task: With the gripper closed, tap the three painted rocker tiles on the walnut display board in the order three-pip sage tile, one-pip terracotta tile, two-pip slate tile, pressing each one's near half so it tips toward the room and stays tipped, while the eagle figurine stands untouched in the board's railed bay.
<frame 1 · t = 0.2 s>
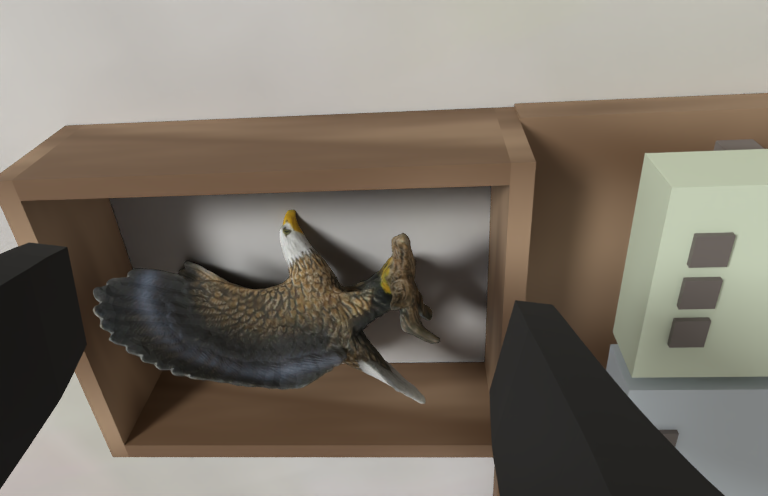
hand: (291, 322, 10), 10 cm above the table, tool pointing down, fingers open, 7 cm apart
board: (661, 354, 23), on the table
tile 2: (701, 435, 20), point 4 cm above the table, hinge at 0.0°
tile 3: (754, 269, 16), point 4 cm above the table, hinge at 0.0°
eagle figurine: (301, 260, 22), on the table
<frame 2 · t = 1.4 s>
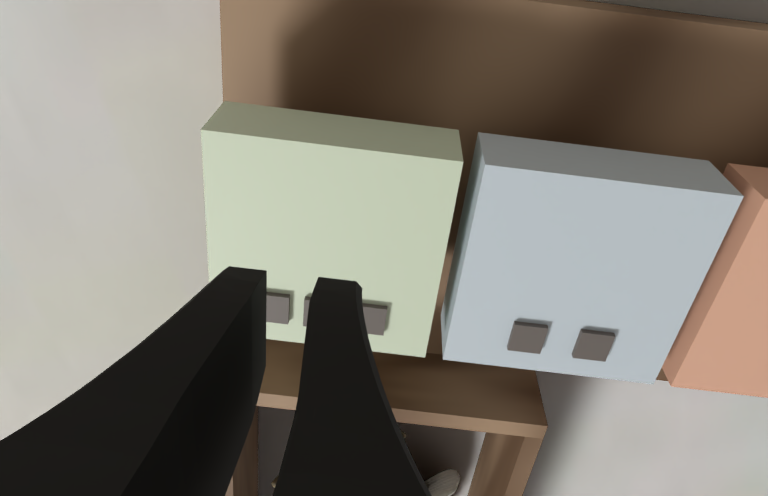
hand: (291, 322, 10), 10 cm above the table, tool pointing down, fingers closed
board: (545, 199, 20), on the table
tile 2: (570, 266, 16), point 4 cm above the table, hinge at 0.0°
tile 3: (329, 237, 16), point 4 cm above the table, hinge at 0.0°
eagle figurine: (375, 459, 27), on the table
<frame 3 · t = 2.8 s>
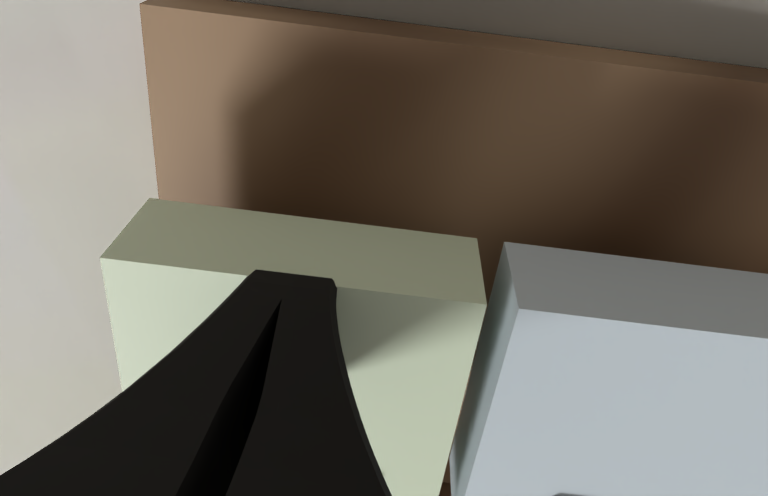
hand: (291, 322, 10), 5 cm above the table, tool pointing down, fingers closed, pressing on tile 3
board: (584, 299, 15), on the table
tile 2: (630, 419, 12), point 4 cm above the table, hinge at 0.0°
tile 3: (297, 380, 12), point 4 cm above the table, hinge at 0.0°, touching gripper
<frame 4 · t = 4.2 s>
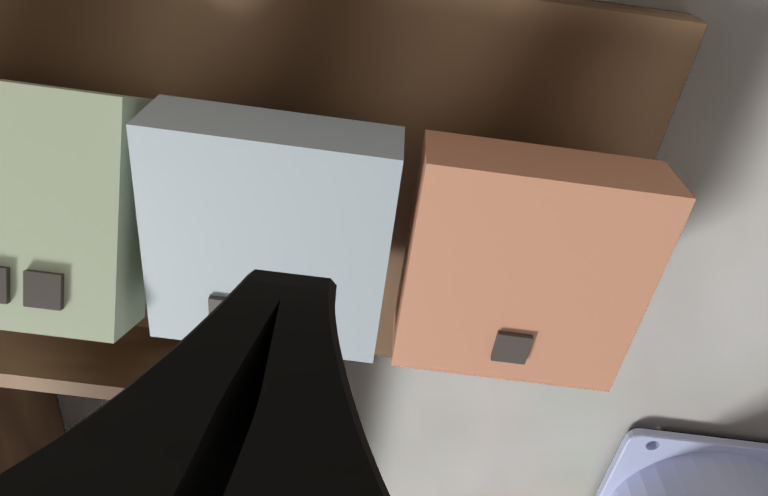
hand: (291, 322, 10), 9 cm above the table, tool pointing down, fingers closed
board: (296, 172, 19), on the table
tile 2: (271, 237, 15), point 4 cm above the table, hinge at 0.0°
tile 3: (13, 204, 15), point 4 cm above the table, hinge at 20.1°
tile 1: (522, 269, 16), point 4 cm above the table, hinge at 0.0°
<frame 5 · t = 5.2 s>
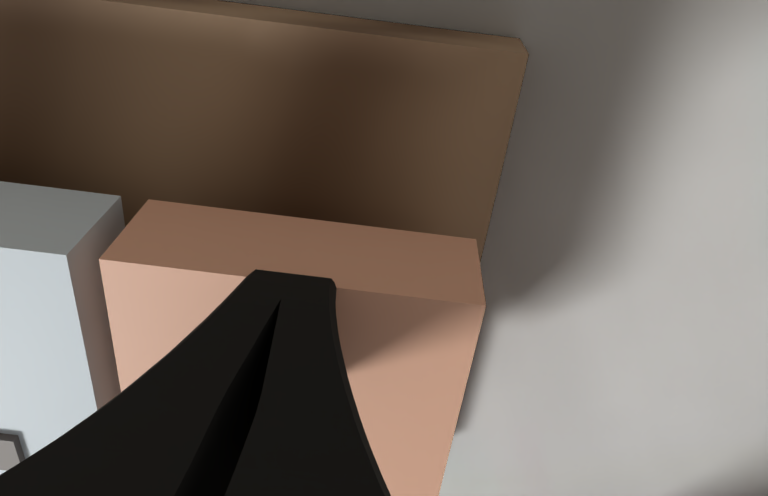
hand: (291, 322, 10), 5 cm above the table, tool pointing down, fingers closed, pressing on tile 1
board: (61, 237, 15), on the table
tile 1: (297, 381, 12), point 4 cm above the table, hinge at 0.0°, touching gripper
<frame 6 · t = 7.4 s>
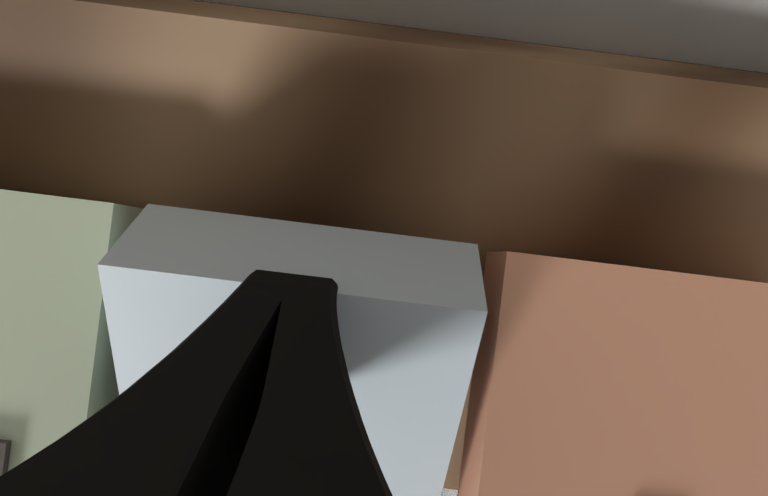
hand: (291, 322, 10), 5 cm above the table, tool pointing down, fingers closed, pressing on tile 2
board: (324, 273, 15), on the table
tile 2: (297, 386, 12), point 4 cm above the table, hinge at 0.1°, touching gripper
tile 1: (632, 424, 12), point 4 cm above the table, hinge at 32.7°, touching board
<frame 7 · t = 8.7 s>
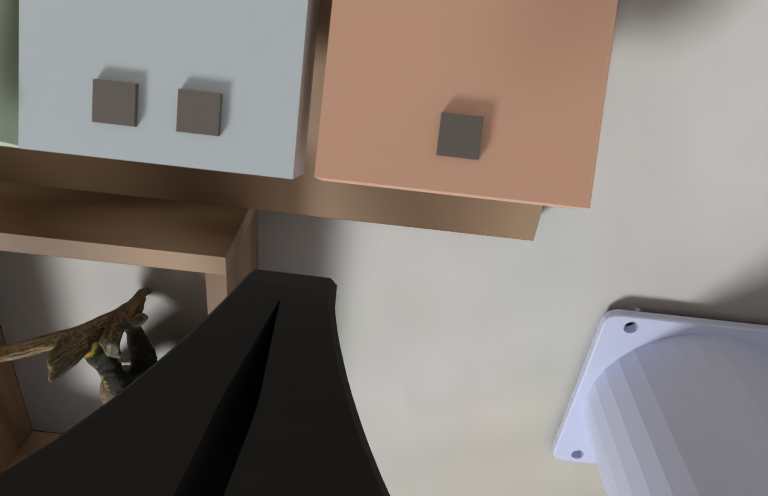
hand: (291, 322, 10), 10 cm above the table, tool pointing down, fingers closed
tile 2: (177, 28, 14), point 4 cm above the table, hinge at 22.3°
eagle figurine: (160, 363, 25), on the table
tile 1: (463, 61, 14), point 4 cm above the table, hinge at 28.5°
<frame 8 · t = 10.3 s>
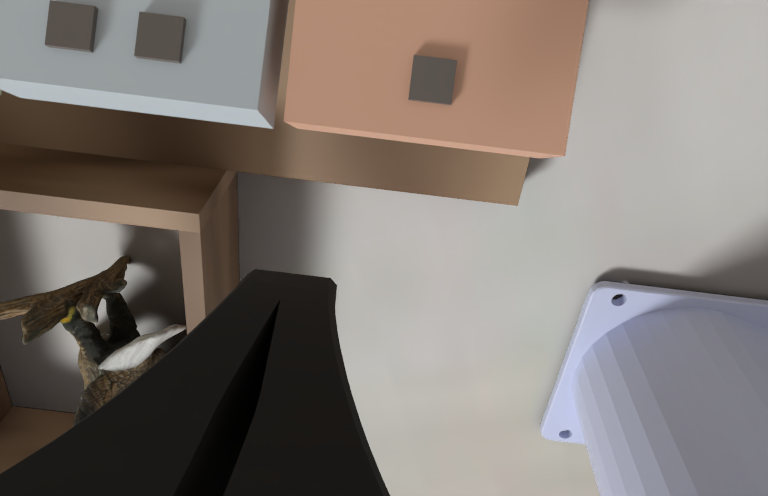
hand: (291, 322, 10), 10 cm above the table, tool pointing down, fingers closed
eagle figurine: (142, 336, 25), on the table
tile 1: (439, 4, 13), point 4 cm above the table, hinge at 25.4°
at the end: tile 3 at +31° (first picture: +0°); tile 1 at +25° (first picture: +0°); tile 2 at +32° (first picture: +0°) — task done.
